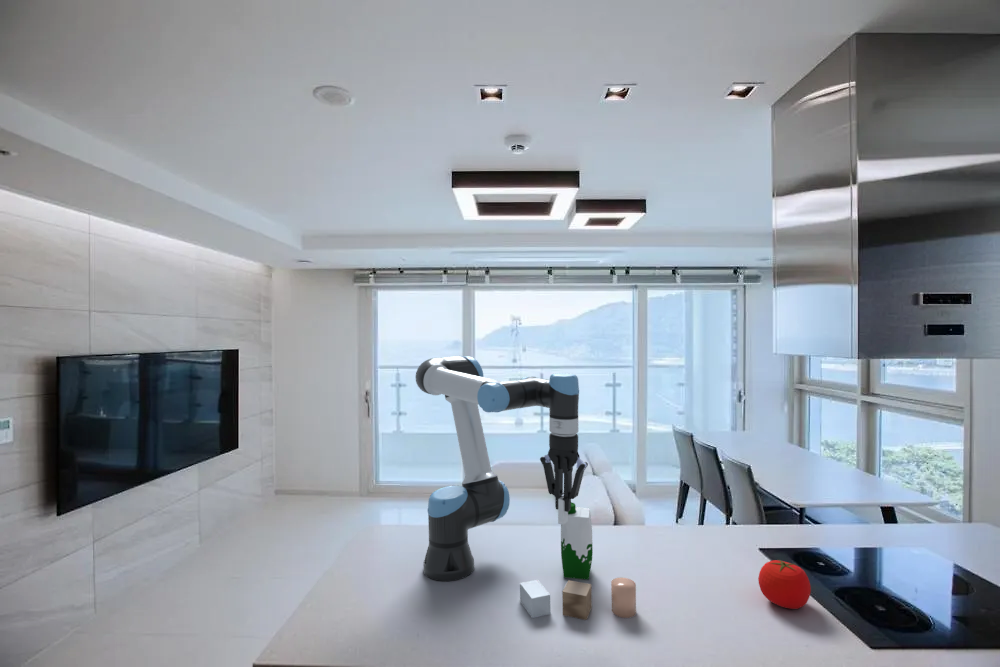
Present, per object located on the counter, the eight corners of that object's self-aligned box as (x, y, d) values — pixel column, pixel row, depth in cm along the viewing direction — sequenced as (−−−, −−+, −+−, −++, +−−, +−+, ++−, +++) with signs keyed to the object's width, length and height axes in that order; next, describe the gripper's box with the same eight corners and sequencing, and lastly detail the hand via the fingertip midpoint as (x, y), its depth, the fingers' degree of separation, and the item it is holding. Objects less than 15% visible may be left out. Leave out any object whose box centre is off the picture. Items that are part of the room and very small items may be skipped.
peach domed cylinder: (608, 613, 125) (607, 585, 125) (616, 602, 130) (616, 575, 130) (631, 620, 122) (631, 592, 121) (639, 608, 127) (638, 581, 126)
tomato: (815, 602, 128) (815, 561, 128) (802, 622, 119) (802, 579, 119) (768, 586, 136) (767, 548, 136) (752, 605, 127) (752, 564, 127)
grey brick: (520, 602, 131) (519, 583, 131) (537, 598, 133) (537, 579, 133) (532, 618, 123) (531, 598, 123) (550, 614, 125) (550, 594, 125)
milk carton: (562, 564, 151) (561, 498, 150) (593, 567, 149) (592, 500, 149) (560, 579, 142) (559, 509, 142) (592, 581, 140) (591, 511, 140)
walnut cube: (562, 615, 124) (562, 591, 124) (568, 603, 130) (568, 580, 130) (586, 620, 122) (586, 596, 122) (591, 607, 128) (591, 584, 128)
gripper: (534, 432, 130) (534, 521, 131) (581, 439, 123) (580, 533, 124) (548, 427, 137) (547, 512, 137) (592, 433, 130) (591, 523, 130)
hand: (563, 522), depth 131 cm, fingers closed
